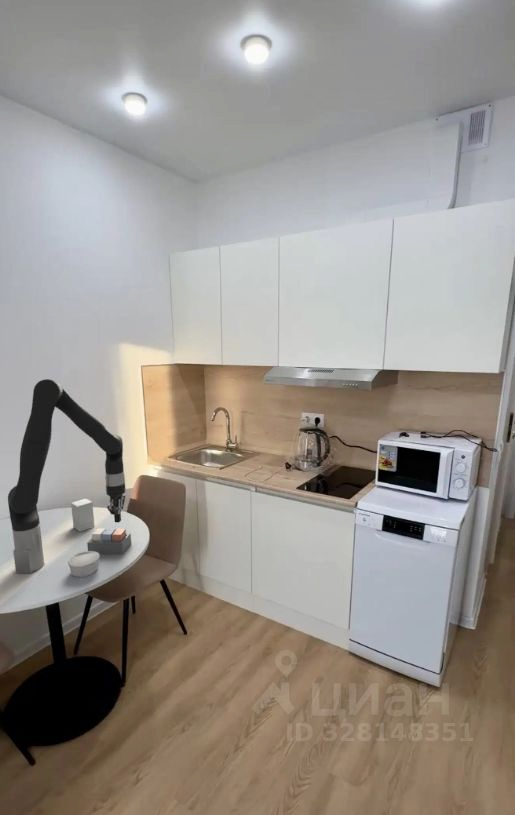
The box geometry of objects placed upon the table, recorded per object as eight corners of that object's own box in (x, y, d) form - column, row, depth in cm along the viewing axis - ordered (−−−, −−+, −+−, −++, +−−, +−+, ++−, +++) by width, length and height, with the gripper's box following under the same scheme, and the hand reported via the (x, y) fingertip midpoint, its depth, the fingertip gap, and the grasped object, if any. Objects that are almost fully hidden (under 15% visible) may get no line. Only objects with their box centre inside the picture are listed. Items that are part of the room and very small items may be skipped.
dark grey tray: (123, 554, 162) (122, 543, 161) (88, 553, 163) (87, 542, 162) (131, 543, 171) (130, 532, 170) (98, 542, 172) (97, 532, 171)
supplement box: (95, 526, 187) (92, 501, 185) (79, 532, 182) (77, 506, 180) (88, 522, 192) (86, 497, 190) (72, 527, 187) (70, 502, 185)
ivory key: (101, 545, 164) (100, 534, 163) (92, 545, 164) (91, 534, 164) (106, 539, 169) (105, 528, 168) (98, 539, 169) (97, 528, 168)
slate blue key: (111, 545, 164) (110, 534, 163) (102, 545, 164) (101, 534, 163) (116, 539, 169) (115, 528, 168) (108, 539, 169) (107, 528, 168)
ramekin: (95, 559, 159) (94, 547, 158) (104, 571, 150) (103, 559, 149) (66, 569, 152) (64, 557, 151) (73, 583, 143) (72, 569, 142)
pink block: (121, 545, 164) (120, 534, 163) (112, 545, 164) (112, 534, 163) (126, 539, 168) (125, 528, 168) (117, 539, 169) (117, 528, 168)
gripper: (117, 488, 155) (120, 529, 158) (130, 477, 168) (132, 515, 171) (99, 488, 155) (102, 528, 158) (113, 476, 168) (115, 514, 171)
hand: (117, 521), depth 164 cm, fingers closed
